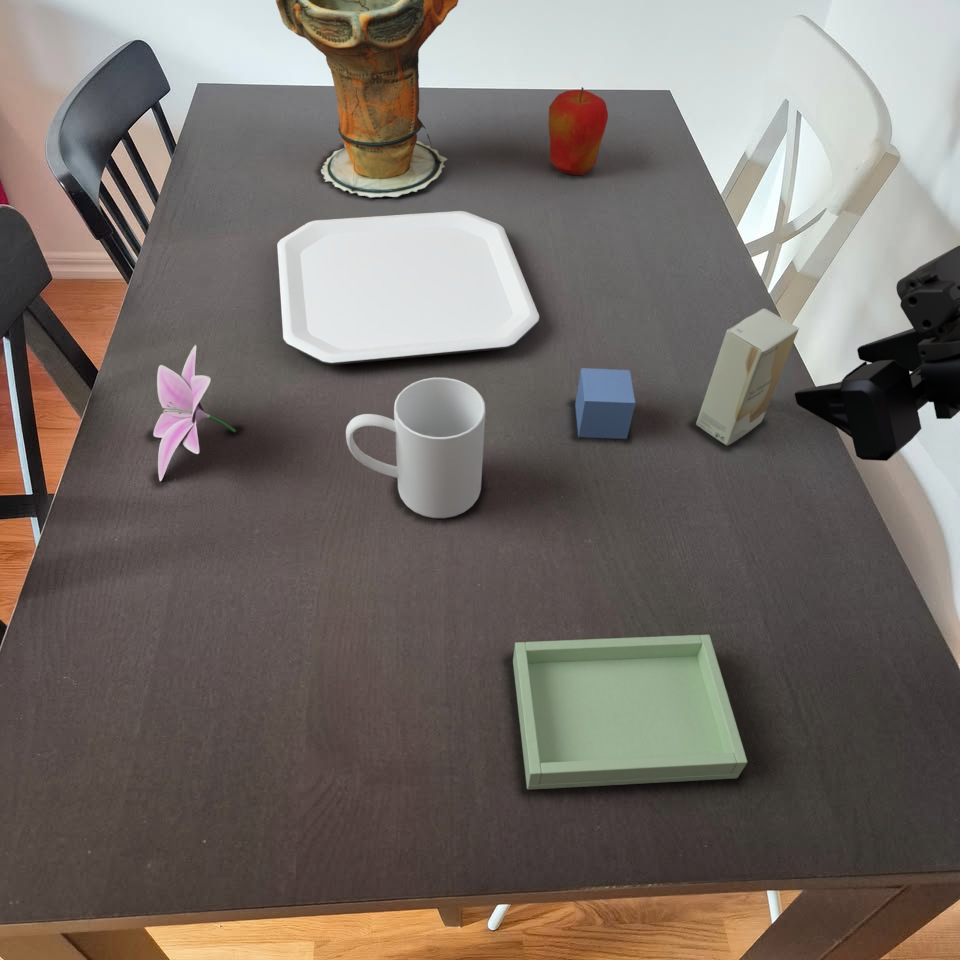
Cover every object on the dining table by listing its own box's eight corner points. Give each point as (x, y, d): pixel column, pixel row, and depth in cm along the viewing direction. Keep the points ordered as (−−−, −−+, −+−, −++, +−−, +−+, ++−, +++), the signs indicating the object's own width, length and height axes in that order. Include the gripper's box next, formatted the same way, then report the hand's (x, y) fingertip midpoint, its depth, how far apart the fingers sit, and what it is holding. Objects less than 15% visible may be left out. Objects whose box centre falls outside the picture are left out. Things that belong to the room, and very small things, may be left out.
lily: (181, 398, 88) (115, 352, 80) (276, 373, 84) (217, 322, 76) (168, 502, 83) (95, 464, 75) (268, 480, 79) (204, 438, 71)
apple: (535, 157, 126) (543, 76, 117) (587, 152, 127) (599, 72, 119) (554, 185, 120) (563, 102, 112) (608, 179, 122) (621, 98, 113)
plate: (287, 381, 89) (284, 365, 87) (277, 236, 108) (275, 221, 106) (548, 356, 94) (550, 340, 92) (495, 222, 113) (496, 206, 111)
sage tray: (701, 652, 68) (709, 634, 66) (737, 778, 61) (748, 762, 59) (512, 660, 67) (515, 641, 65) (527, 790, 60) (530, 774, 58)
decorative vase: (300, 136, 127) (273, -78, 107) (450, 135, 130) (452, -75, 109) (293, 206, 113) (261, -25, 93) (461, 203, 116) (466, -23, 95)
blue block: (622, 406, 88) (630, 369, 85) (626, 439, 85) (635, 402, 81) (575, 404, 88) (581, 367, 85) (578, 437, 85) (584, 400, 81)
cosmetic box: (727, 448, 85) (761, 353, 76) (693, 425, 87) (723, 330, 78) (764, 421, 88) (802, 326, 79) (731, 399, 90) (764, 305, 81)
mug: (474, 455, 83) (478, 373, 75) (486, 515, 77) (492, 434, 70) (350, 465, 81) (341, 383, 73) (355, 528, 76) (345, 446, 68)
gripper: (1080, 204, 58) (868, 243, 71) (947, 301, 49) (734, 325, 62) (1101, 353, 61) (895, 364, 74) (980, 469, 52) (771, 458, 65)
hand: (828, 374), depth 69 cm, fingers open, 9 cm apart
